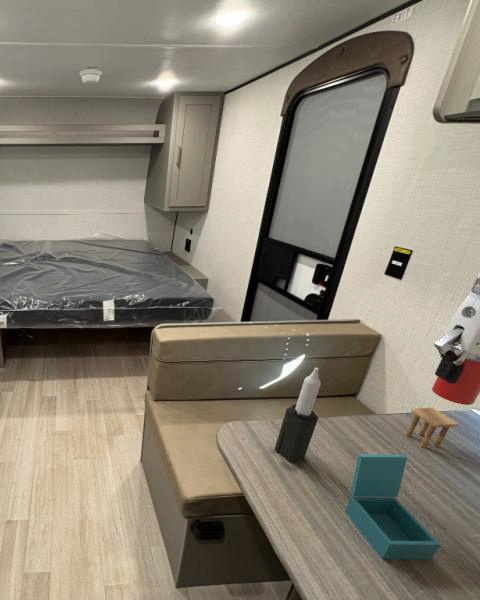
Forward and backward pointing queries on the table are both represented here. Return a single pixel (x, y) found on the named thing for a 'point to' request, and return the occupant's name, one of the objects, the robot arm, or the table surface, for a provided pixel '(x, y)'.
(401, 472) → the lid
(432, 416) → the stool
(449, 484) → the table surface
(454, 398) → the can
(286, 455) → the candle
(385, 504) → the teal hinged box
